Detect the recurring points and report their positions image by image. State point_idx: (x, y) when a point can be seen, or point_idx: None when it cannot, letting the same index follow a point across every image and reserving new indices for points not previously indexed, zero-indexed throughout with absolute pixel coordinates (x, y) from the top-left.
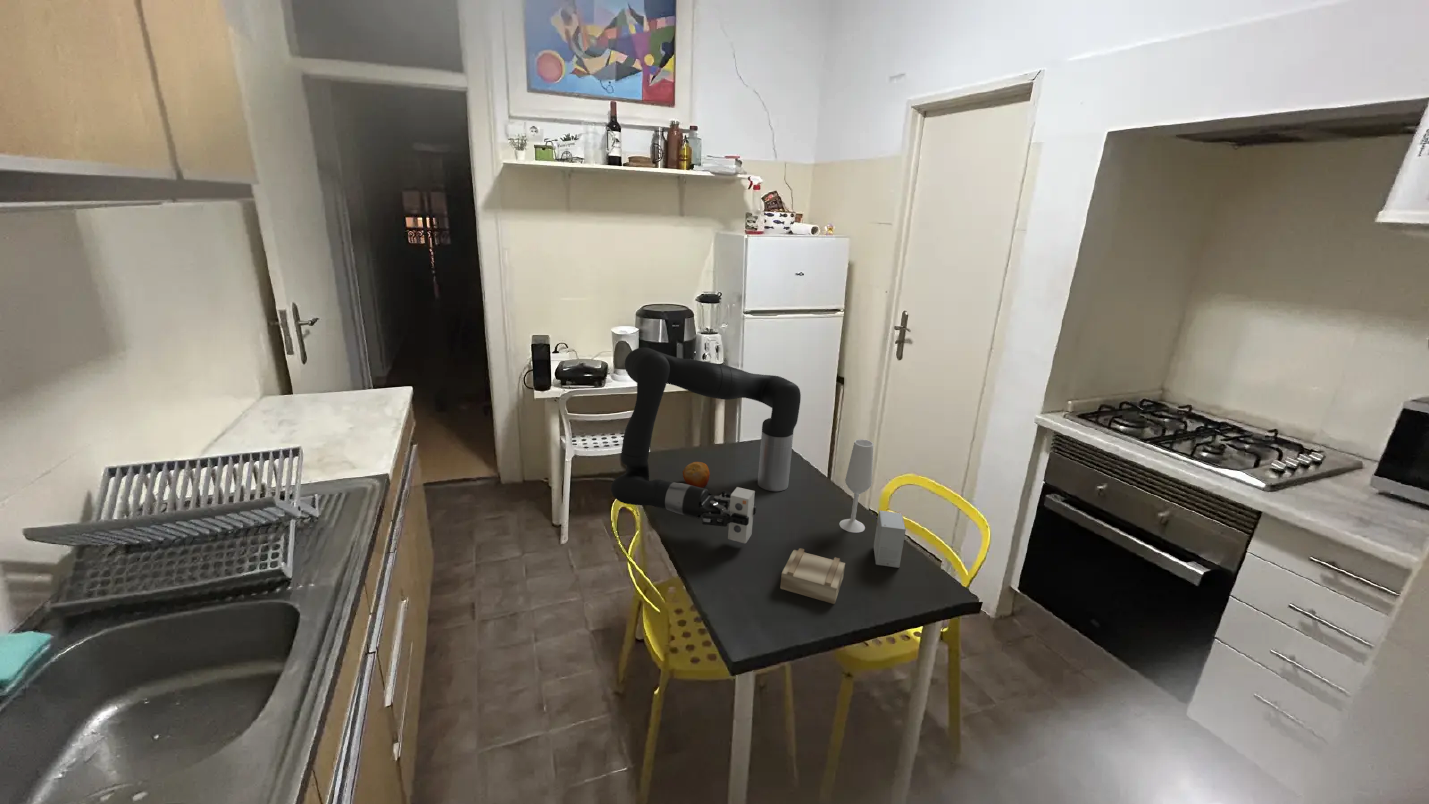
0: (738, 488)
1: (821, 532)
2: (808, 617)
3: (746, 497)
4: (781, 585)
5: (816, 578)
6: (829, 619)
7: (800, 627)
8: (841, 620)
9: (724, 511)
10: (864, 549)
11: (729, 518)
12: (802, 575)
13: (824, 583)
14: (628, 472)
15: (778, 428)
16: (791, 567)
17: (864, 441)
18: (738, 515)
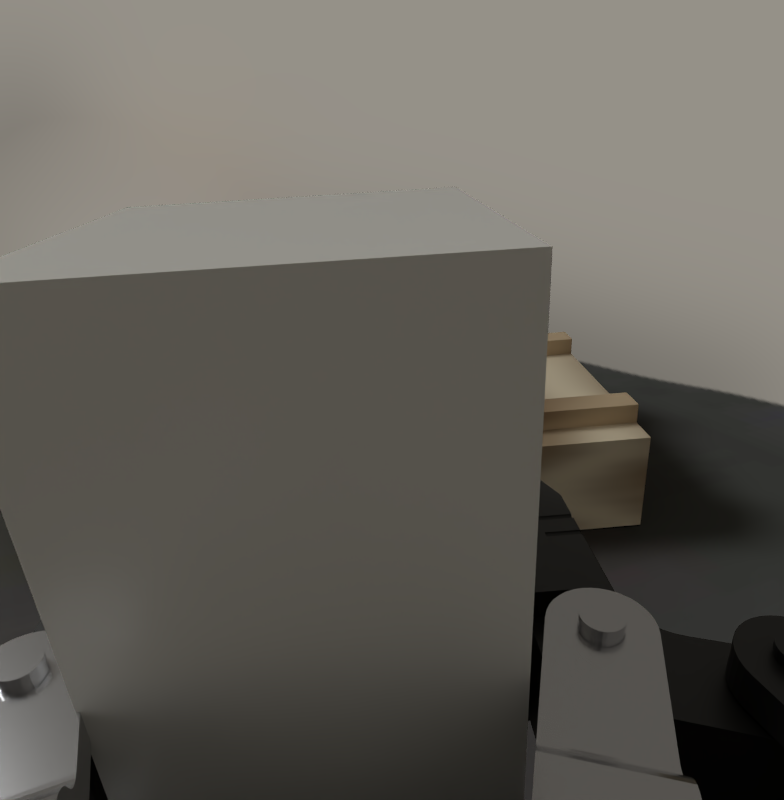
0: (37, 263)
1: (8, 534)
2: (697, 426)
3: (416, 195)
4: (639, 503)
5: (555, 370)
6: (640, 397)
7: (773, 427)
8: (612, 383)
9: (645, 765)
10: None
11: (685, 647)
12: (581, 395)
13: (561, 355)
14: None
15: None
16: (590, 404)
17: None
18: (540, 526)
